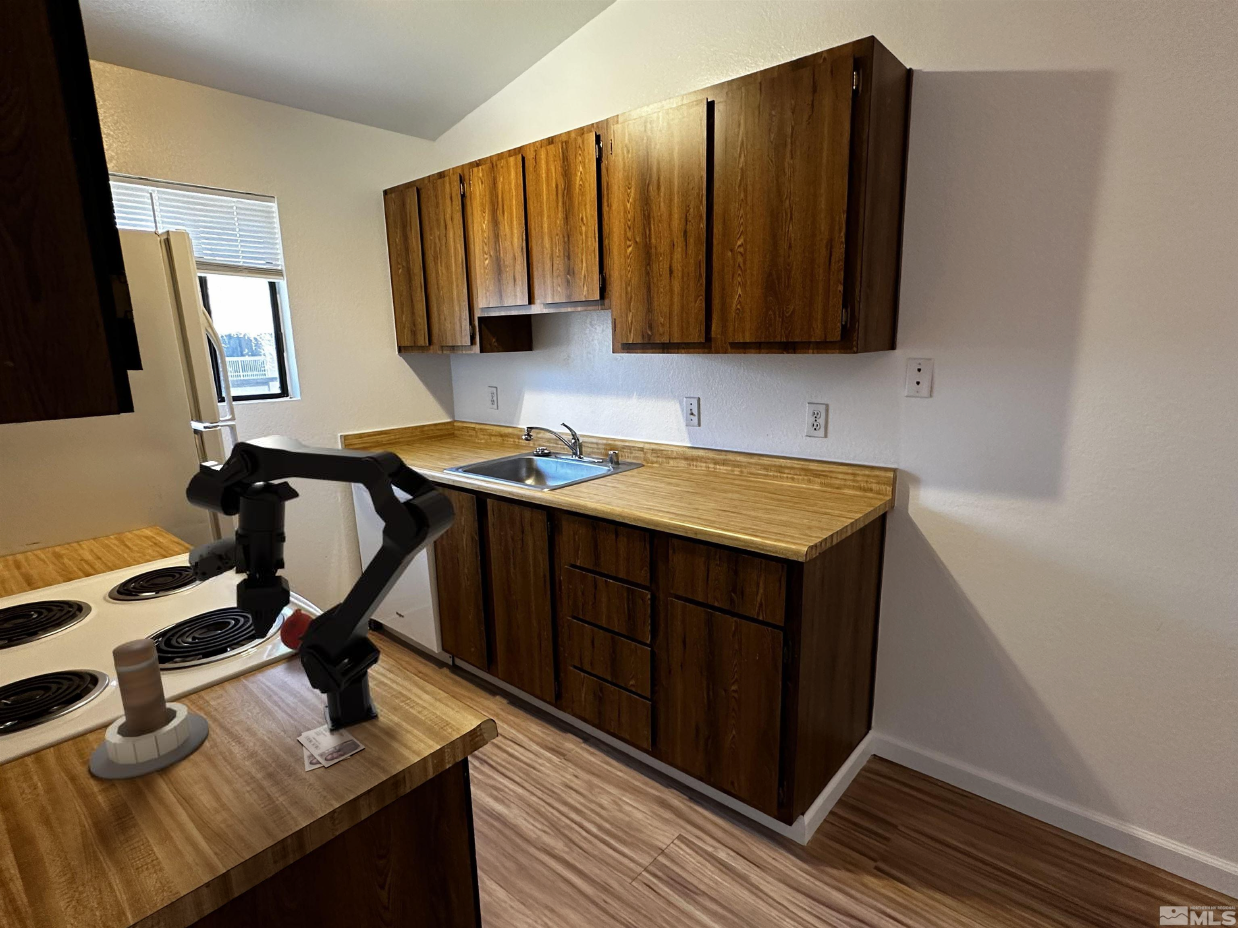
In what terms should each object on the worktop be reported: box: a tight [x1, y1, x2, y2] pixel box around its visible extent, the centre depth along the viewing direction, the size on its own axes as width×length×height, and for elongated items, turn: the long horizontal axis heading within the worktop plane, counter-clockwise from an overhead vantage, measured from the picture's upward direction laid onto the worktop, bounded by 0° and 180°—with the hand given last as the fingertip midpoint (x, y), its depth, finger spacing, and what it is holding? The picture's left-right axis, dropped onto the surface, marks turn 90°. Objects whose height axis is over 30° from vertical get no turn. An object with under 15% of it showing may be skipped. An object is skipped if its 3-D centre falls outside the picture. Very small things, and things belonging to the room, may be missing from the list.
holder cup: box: [88, 701, 210, 780], centre depth 85 cm, size 13×13×4 cm
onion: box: [279, 607, 314, 652], centre depth 109 cm, size 6×6×8 cm
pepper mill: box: [111, 638, 169, 737], centre depth 83 cm, size 4×4×14 cm
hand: (259, 621), depth 93 cm, fingers open, 9 cm apart
